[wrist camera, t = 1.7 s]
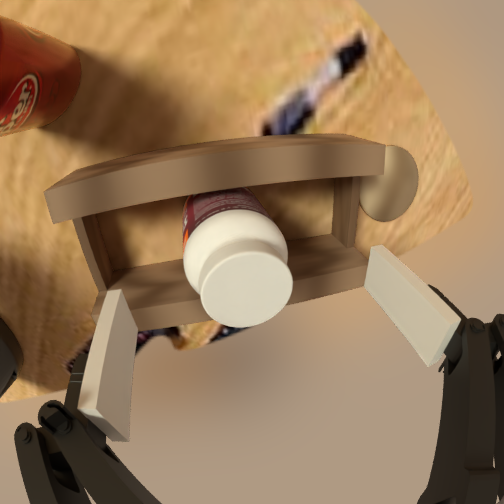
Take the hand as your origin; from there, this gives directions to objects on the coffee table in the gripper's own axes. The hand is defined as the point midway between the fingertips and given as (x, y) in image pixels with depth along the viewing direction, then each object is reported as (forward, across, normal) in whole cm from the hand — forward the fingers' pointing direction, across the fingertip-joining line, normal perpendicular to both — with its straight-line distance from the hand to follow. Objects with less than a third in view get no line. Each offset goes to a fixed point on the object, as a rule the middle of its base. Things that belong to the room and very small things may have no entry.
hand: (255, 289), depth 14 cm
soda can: (+11, -14, +14) cm, 22 cm away
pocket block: (+11, -1, 0) cm, 11 cm away
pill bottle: (+11, -1, 0) cm, 11 cm away
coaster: (+11, +16, +1) cm, 20 cm away
